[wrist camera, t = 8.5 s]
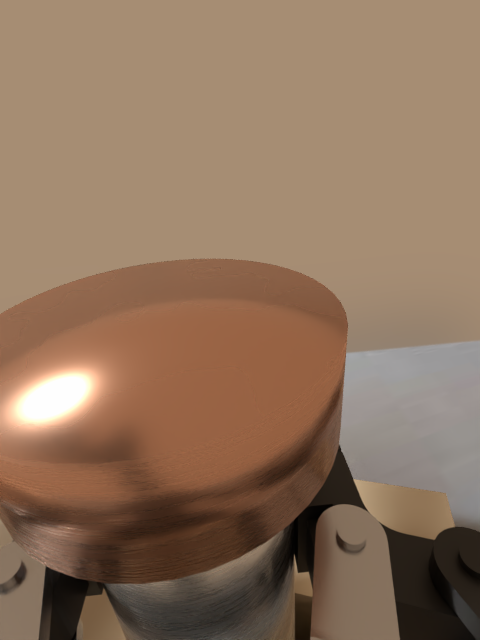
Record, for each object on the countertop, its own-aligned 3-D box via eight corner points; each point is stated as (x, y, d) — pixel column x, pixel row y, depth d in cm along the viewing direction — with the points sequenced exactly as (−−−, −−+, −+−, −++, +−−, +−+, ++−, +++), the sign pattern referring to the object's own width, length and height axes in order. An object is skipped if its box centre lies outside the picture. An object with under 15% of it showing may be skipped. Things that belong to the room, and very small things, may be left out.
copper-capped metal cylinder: (110, 799, 11) (-195, 420, 4) (184, 585, 16) (102, 257, 9) (312, 887, 9) (353, 516, 3) (323, 619, 15) (346, 259, 8)
